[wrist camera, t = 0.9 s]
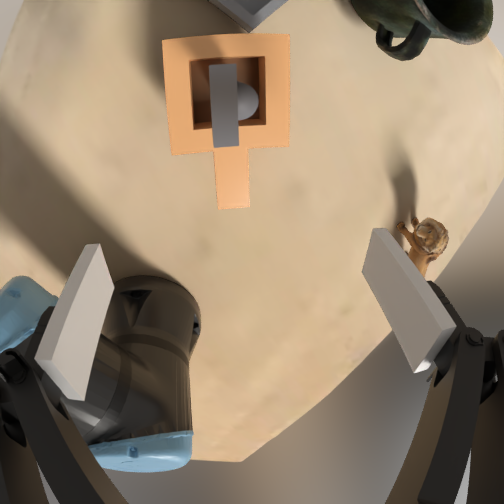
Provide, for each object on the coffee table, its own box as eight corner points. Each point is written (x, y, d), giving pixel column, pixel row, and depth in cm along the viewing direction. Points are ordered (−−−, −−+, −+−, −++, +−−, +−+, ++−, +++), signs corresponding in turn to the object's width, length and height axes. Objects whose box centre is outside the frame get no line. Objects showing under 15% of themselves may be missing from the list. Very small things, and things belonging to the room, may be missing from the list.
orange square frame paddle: (279, 190, 28) (287, 203, 26) (181, 198, 27) (179, 213, 25) (279, 37, 20) (289, 34, 18) (167, 43, 19) (162, 40, 17)
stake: (267, 125, 30) (329, 188, 16) (180, 131, 29) (156, 202, 15) (265, 43, 25) (336, 19, 11) (174, 48, 24) (137, 23, 10)
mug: (431, -5, 21) (501, -9, 11) (394, 79, 28) (466, 97, 18) (361, -56, 18) (422, -86, 8) (316, 32, 25) (374, 20, 15)
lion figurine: (392, 200, 37) (430, 235, 30) (422, 196, 38) (461, 228, 30) (380, 283, 46) (405, 322, 39) (406, 276, 46) (433, 313, 39)
